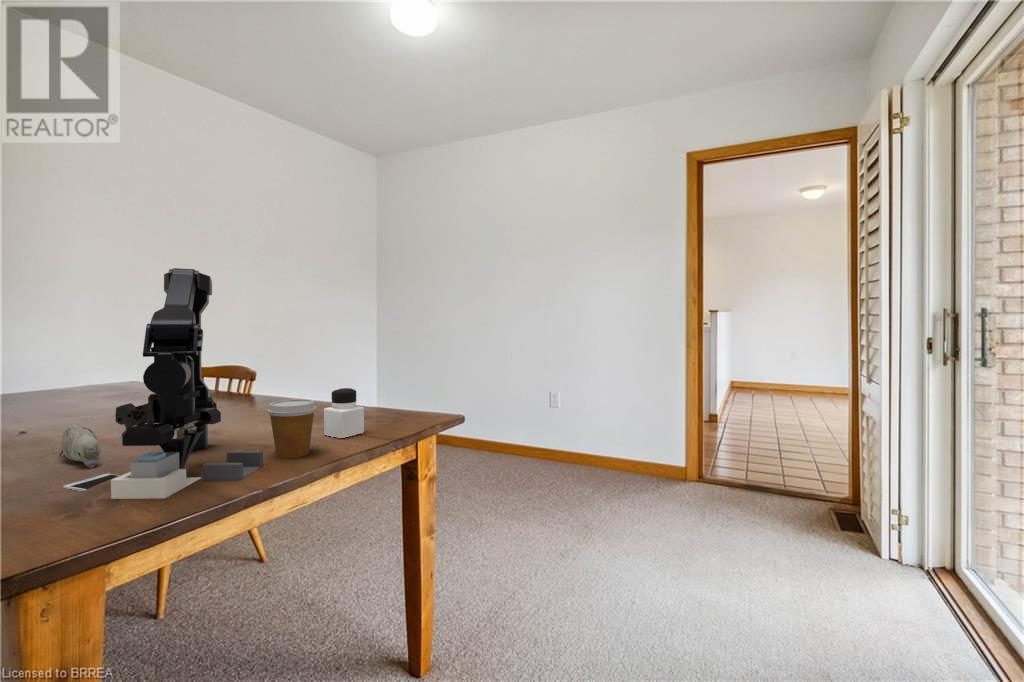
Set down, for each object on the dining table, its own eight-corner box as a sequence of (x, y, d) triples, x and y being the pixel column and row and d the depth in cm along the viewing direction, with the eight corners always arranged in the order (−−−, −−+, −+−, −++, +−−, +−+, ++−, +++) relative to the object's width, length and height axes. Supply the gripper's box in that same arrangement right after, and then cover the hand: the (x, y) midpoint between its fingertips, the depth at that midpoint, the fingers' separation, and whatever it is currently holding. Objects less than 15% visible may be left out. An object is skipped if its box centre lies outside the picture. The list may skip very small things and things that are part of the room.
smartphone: (125, 501, 79) (125, 495, 79) (61, 490, 83) (61, 485, 83) (167, 487, 86) (167, 481, 86) (106, 477, 90) (106, 472, 90)
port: (154, 482, 87) (154, 461, 87) (202, 481, 87) (201, 461, 87) (111, 503, 77) (110, 480, 77) (165, 502, 77) (164, 479, 77)
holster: (230, 468, 95) (230, 450, 95) (263, 468, 95) (263, 450, 95) (203, 484, 86) (202, 464, 86) (239, 484, 86) (239, 464, 86)
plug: (156, 482, 84) (155, 448, 84) (179, 482, 84) (179, 448, 84) (131, 495, 78) (130, 458, 78) (156, 495, 78) (155, 458, 78)
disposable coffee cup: (326, 453, 106) (325, 400, 105) (295, 466, 97) (295, 407, 96) (290, 450, 109) (289, 397, 108) (257, 462, 99) (256, 405, 99)
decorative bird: (73, 472, 92) (72, 434, 92) (55, 457, 102) (54, 423, 101) (109, 466, 96) (108, 429, 96) (88, 452, 106) (87, 419, 106)
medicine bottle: (364, 434, 124) (364, 388, 123) (341, 439, 118) (341, 391, 117) (346, 430, 128) (346, 386, 127) (323, 435, 122) (323, 389, 121)
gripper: (163, 380, 95) (166, 457, 95) (85, 395, 76) (88, 491, 77) (221, 380, 95) (223, 456, 96) (157, 395, 77) (160, 490, 77)
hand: (177, 471), depth 87 cm, fingers closed
